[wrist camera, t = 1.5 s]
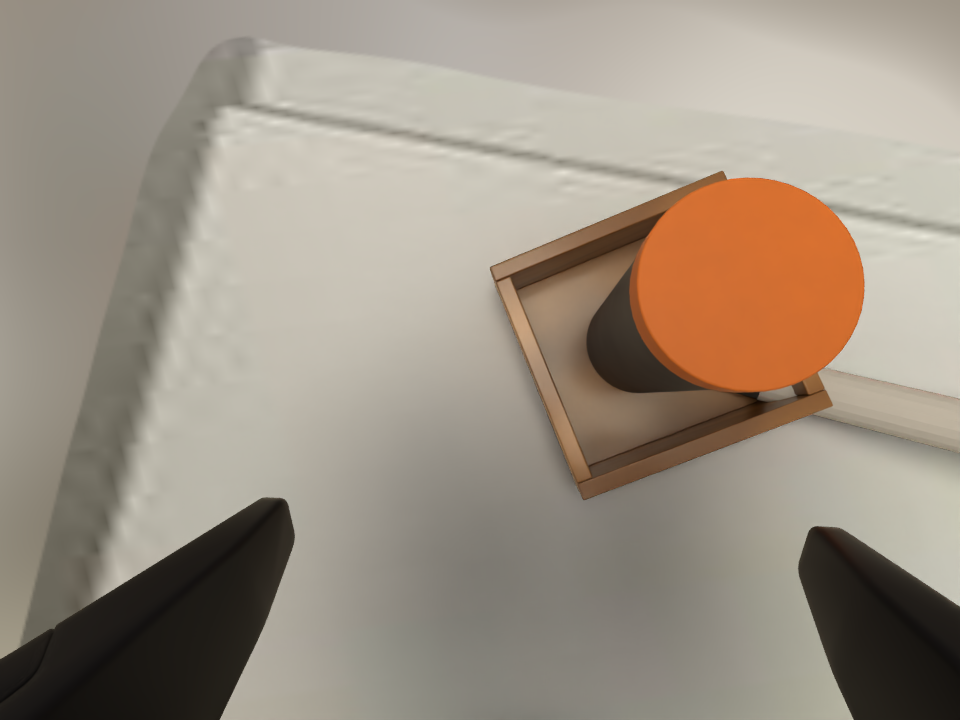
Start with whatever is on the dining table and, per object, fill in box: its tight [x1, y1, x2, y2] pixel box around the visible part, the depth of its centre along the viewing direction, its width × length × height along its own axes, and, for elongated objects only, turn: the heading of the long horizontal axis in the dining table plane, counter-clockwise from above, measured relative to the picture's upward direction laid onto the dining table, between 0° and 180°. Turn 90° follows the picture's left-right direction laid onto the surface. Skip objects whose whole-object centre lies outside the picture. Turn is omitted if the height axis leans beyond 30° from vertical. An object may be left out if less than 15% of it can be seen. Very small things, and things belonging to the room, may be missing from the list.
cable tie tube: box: [586, 178, 864, 393], centre depth 18 cm, size 5×5×12 cm
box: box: [490, 171, 833, 500], centre depth 23 cm, size 10×10×4 cm
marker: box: [737, 368, 960, 453], centre depth 20 cm, size 15×2×2 cm, turn 72°
